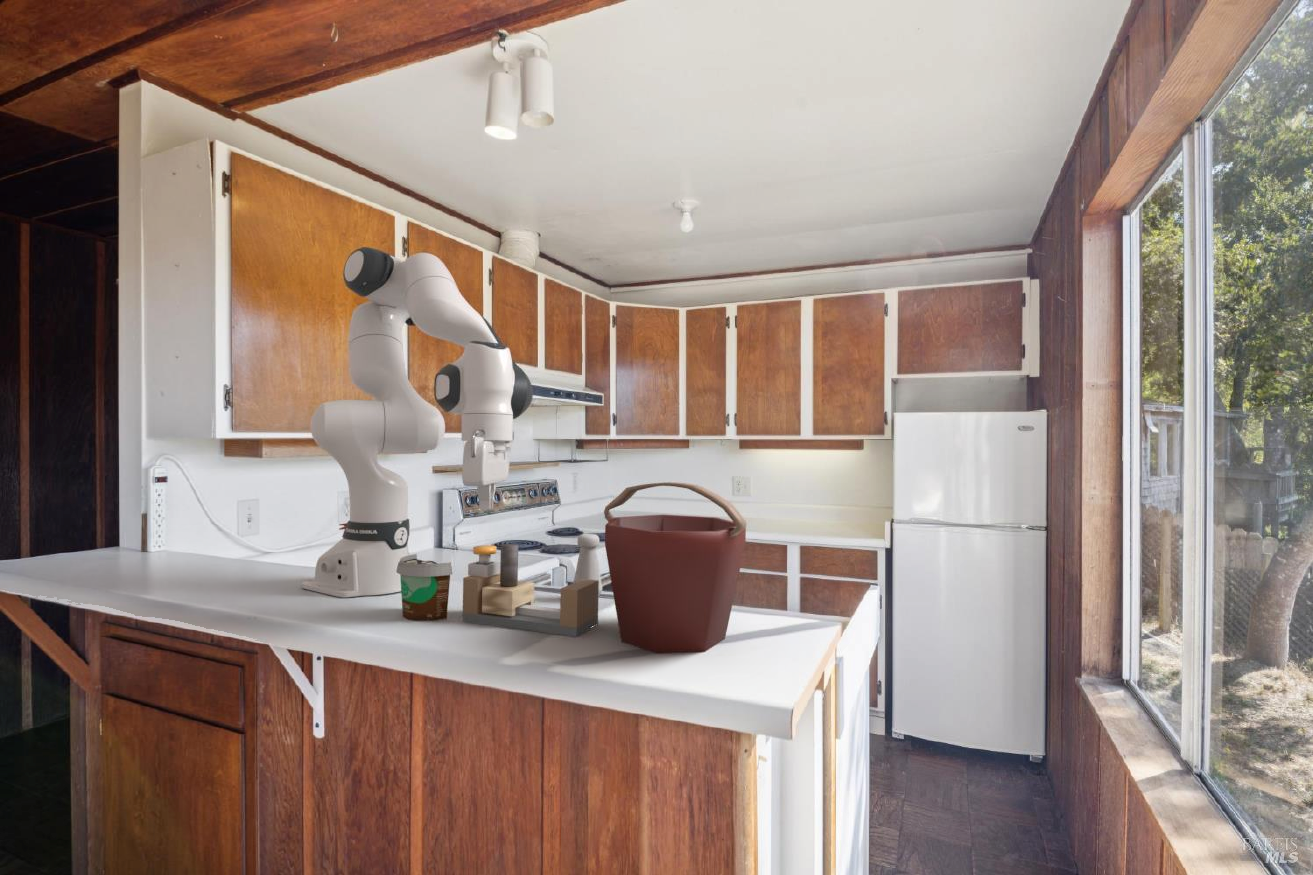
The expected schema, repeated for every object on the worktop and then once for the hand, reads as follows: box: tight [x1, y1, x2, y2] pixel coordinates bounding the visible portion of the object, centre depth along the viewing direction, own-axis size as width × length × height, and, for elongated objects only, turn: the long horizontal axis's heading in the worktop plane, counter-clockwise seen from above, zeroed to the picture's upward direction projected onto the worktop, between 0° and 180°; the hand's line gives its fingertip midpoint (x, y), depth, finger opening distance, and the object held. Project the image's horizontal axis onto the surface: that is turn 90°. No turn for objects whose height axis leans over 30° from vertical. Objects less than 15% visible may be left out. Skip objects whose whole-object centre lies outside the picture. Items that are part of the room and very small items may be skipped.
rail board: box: [462, 560, 599, 638], centre depth 112 cm, size 22×8×10 cm, turn 70°
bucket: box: [603, 481, 748, 654], centre depth 106 cm, size 24×22×25 cm
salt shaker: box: [573, 533, 603, 599], centre depth 128 cm, size 6×6×13 cm
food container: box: [396, 553, 453, 622], centre depth 114 cm, size 12×6×10 cm, turn 50°
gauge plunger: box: [472, 544, 497, 565], centre depth 115 cm, size 4×4×3 cm
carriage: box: [482, 543, 535, 616], centre depth 114 cm, size 6×7×11 cm
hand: (486, 509), depth 115 cm, fingers closed
